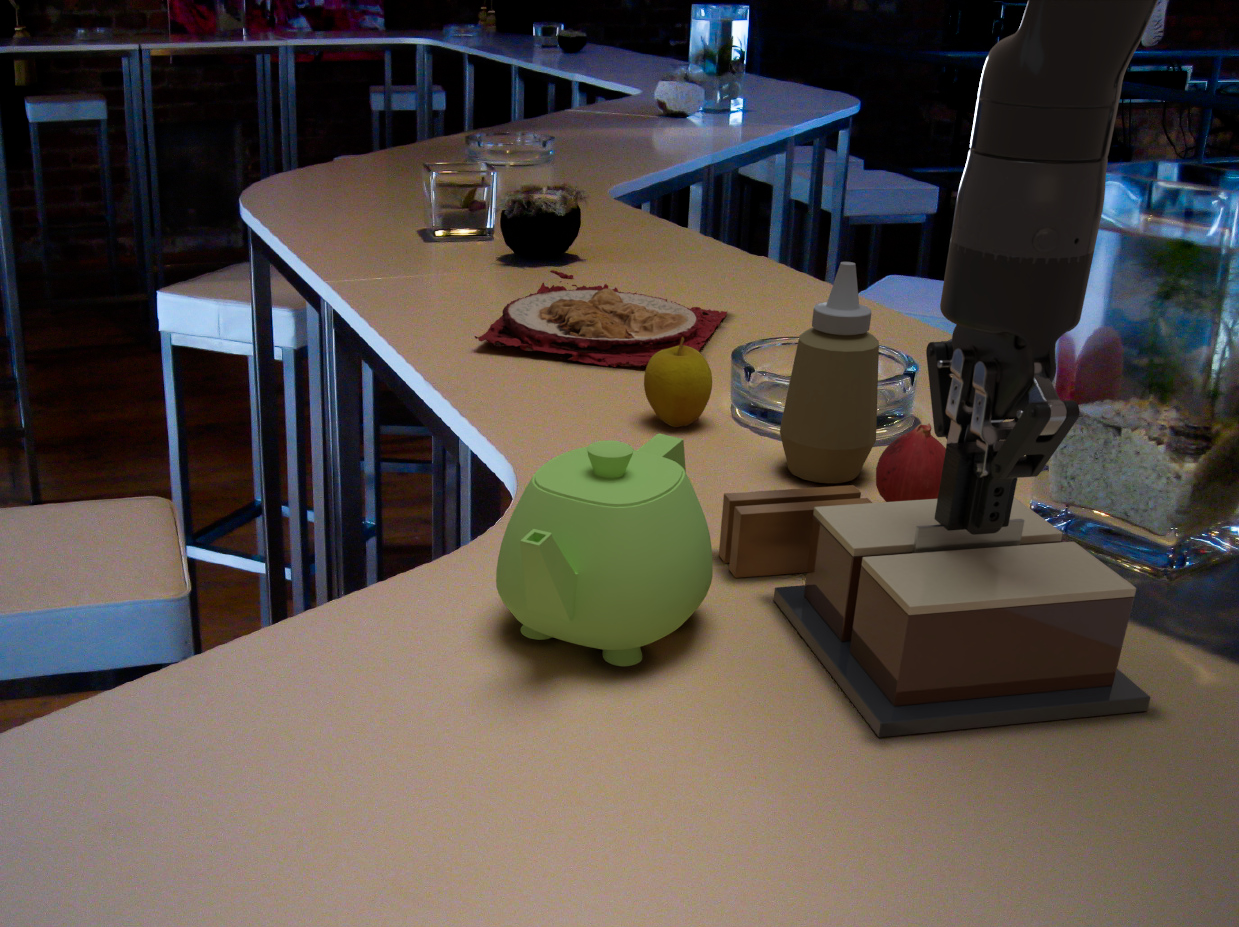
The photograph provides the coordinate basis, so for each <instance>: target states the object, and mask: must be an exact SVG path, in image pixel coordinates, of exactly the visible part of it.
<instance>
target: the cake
mask: <svg viewBox="0 0 1239 927" xmlns="http://www.w3.org/2000/svg"><path fill="white" fill-rule="evenodd" d="M936 506H937V499H925V500H910V501H896V502H886V501H884V502H883V501H882V502H872V503H866V504H851V505H836V506H821V507H814V513H813V515H814V516H813V522H812V531H811V539H810V548H809V556H808V565H807V572H806V573H805V574H806V575H805V581H804V582H805V583H804V584H803V585H790V586H789V585H788V586H776V587H775V588H774V592H773V593H774V594H773V602H774V603H775V604H776V605H777V607H778V608H779V609H780V610H781V612H782V613H783V614H784V616H785V617H786V618H787V620H788V621H789V622H790V624H791V625H792V626H793V628H794V629H795V630H796V631H797V633H798V634H799V635H800V637H801V638H802V639H803V640H804V642H805V643H806V644H807V645H808V648H810V649H811V651H812V652H813V653H814V655H815V656H816V657H817V659H818V660H819V661H820V662H821V664H822V665H823V667H824V668H825V669H826V670H827V672H828V673H829V675H830V676H831V677H832V679H833V680H834V681H835V682H836V684H837V685H838V686H839V688H840V689H841V690H842V692H843V693H844V694H845V695H846V696H847V698H848V699H849V701H850V702H851V703H852V704H853V706H854V707H855V708H856V710H857V711H858V712H859V713H860V715H861V716H862V718H863V719H864V721H866V723H867V724H868V725H869V727H870V728H871V730H873V732H874V733H875V735H876V736H877V737H878V738H888V737H897V736H899V737H900V736H906V735H907V736H908V735H917V734H928V733H939V732H947V731H948V732H949V731H958V730H959V731H960V730H968V729H977V728H988V727H990V728H991V727H997V726H998V727H999V726H1009V725H1019V724H1028V723H1029V724H1030V723H1039V722H1048V721H1050V722H1051V721H1059V720H1069V719H1079V718H1089V717H1091V718H1092V717H1098V716H1099V717H1100V716H1109V715H1120V714H1128V713H1129V714H1131V713H1139V712H1140V713H1141V712H1147V711H1148V709H1149V707H1150V706H1149V705H1150V702H1151V696H1150V695H1149V694H1148V693H1146V691H1144V690H1143V689H1142V688H1141V687H1140V686H1138V685H1137V684H1136V683H1135V682H1134V681H1133V680H1131V679H1130V678H1129V677H1128V676H1127V675H1126V674H1124V672H1122V671H1121V670H1120V669H1118V666H1119V662H1120V657H1121V654H1122V650H1123V646H1124V641H1125V637H1126V633H1127V630H1128V625H1129V620H1130V617H1131V613H1132V610H1133V604H1134V601H1135V596H1136V591H1137V587H1136V586H1135V585H1133V584H1132V583H1130V581H1127V580H1126V578H1124V577H1122V576H1121V575H1120V574H1118V573H1117V572H1116V571H1114V570H1113V569H1112V568H1111V567H1109V566H1108V565H1106V564H1105V563H1104V562H1102V560H1100V559H1098V558H1097V557H1096V556H1094V554H1091V553H1090V552H1089V551H1088V550H1086V549H1084V547H1082V546H1081V545H1079V544H1078V543H1077V542H1075V541H1062V539H1063V532H1062V531H1061V530H1059V529H1058V528H1057V527H1056V526H1054V525H1052V523H1050V522H1049V521H1047V520H1046V519H1045V518H1043V517H1042V516H1041V515H1040V514H1038V513H1037V512H1035V511H1034V510H1033V509H1031V508H1030V507H1029V506H1027V505H1026V504H1024V502H1022V501H1021V500H1019V499H1018V498H1016V497H1015V496H1014V499H1013V504H1012V509H1011V515H1010V520H1011V519H1023V520H1024V526H1023V531H1022V536H1021V541H1020V546H1006V547H993V548H979V549H966V550H952V551H939V552H925V553H912V552H913V546H914V539H915V533H916V527H917V526H925V525H939V524H940V523H938V522H937V521H936V520H935V512H936ZM1061 541H1062V542H1061Z"/></svg>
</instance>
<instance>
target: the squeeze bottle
mask: <svg viewBox="0 0 1239 927" xmlns="http://www.w3.org/2000/svg"><path fill="white" fill-rule="evenodd" d="M811 320H812V321H811V327H810V328H808V329H807V330H805V331H803V332H801V334H799V336H798V340H797V345H796V351H795V355H794V359H793V364H792V369H791V373H790V379H789V384H788V388H787V393H786V398H785V402H784V407H783V413H782V417H781V421H780V425H779V435H780V439H781V443H782V447H783V448H782V449H783V452H784V457H785V460H786V464H787V468H788V471H789V472H790V473H791V474H792V475H793V476H796V477H798V478H800V479H802V480H805V481H808V482H813V483H819V484H843V483H846V482H851V481H853V480H855V479H856V478H857V477H858V476H859V474H860V472H861V471H862V469H863V466H864V465H865V463H866V461H867V459H868V457H869V455H870V453H871V452H872V449H873V447H874V445H875V443H876V442H877V423H878V392H879V391H878V390H879V389H878V388H879V357H880V356H879V355H880V340H878V338H877V337H876V336H874V335H873V334H872V333H870V332H869V331H870V327H871V321H872V308H869V307H868V306H867V305H863V304H860V299H859V288H858V278H857V266H856V263H855V262H851V261H841V262H840V263H839V267H838V269H837V272H836V275H835V278H834V281H833V284H832V287H831V289H830V293H829V296H828V298H827V301H824V302H818V303H817V304H815V305H813V310H812V319H811Z"/></svg>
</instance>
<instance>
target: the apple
mask: <svg viewBox="0 0 1239 927" xmlns="http://www.w3.org/2000/svg"><path fill="white" fill-rule="evenodd" d="M683 342H684V338H683V337H682V339H681V342H680V346H675V347H672V348H668V349H664V350H661V351H659V352H657V353H656V354H655V355H653V356H652V357H651V359H650V360H649V363H648V365H647V367H646V368H645V371H644V376H643V389H644V393H645V397H646V400H647V402H648V403H649V405H650V407H651V409H652V410H653V412H654V413H655V415H656V417H658V418H659V419H660V420H661V421H663V422H664V423H665V424H667V425H669V426H670V427H672V428H680V427H686V426H689V425H690V424H692V423H693V422H696V421H697V420H698V419H699V418H700V417H701V416H702V414H703V413H704V411H705V409H706V407H707V405H708V403H709V400H710V398H711V394H712V391H713V373H712V369H711V367H710V365H709V363H708V360H707V359H706V357H705V356H704V355H703V354H701V352H700V351H699V352H698V351H697V350H695V349H693V348H691V347H688V346H682V344H683Z"/></svg>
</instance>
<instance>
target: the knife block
mask: <svg viewBox="0 0 1239 927" xmlns="http://www.w3.org/2000/svg"><path fill="white" fill-rule="evenodd" d="M861 496H862V492H861V491H860V490H859V489H858V488H857V487H856V486H855V485H854V484H851V485H835V486H819V487H817V486H816V487H804V488H803V487H802V488H789V489H786V488H785V489H773V490H757V491H740V492H727V493H726V492H725V493H724V494H723V500H722V512H721V523H720V536H719V545H718V546H719V547H718V557H720V559H721V560H722V561H723V563H724V564H729V565H728V569H729V571H730V573H731V574H732V575H733V577H734V578H735V579H737V578H738V579H739V578H751V577H752V578H753V577H764V576H766V577H767V576H777V575H778V576H779V575H790V574H791V575H793V574H806V573H807V565H808V556H809V548H810V539H811V531H812V522H813V516H814V515H813V513H814V507H821V506H836V505H851V504H866V503H873V501H872V500H870V498H868V497H861Z"/></svg>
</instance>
